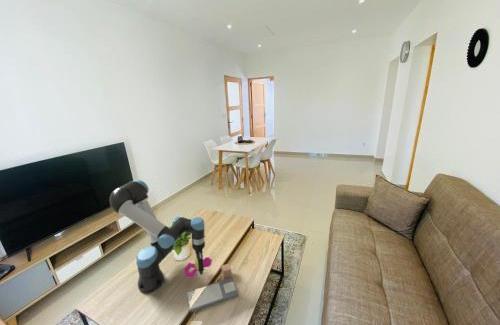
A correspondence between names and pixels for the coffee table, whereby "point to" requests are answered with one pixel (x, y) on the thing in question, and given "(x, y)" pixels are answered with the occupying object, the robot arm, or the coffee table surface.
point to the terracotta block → (226, 271)
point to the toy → (196, 266)
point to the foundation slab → (215, 294)
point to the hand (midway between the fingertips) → (199, 268)
